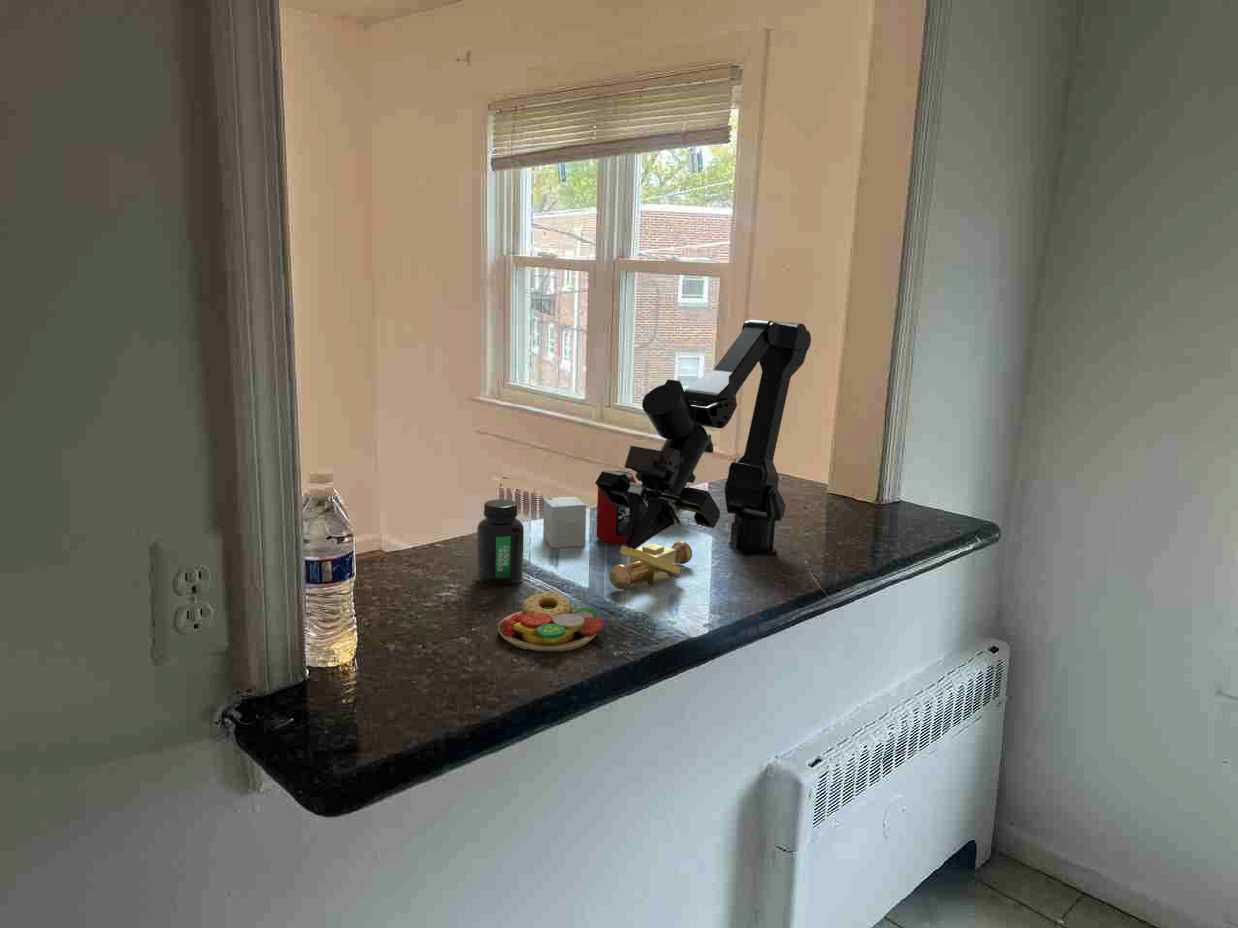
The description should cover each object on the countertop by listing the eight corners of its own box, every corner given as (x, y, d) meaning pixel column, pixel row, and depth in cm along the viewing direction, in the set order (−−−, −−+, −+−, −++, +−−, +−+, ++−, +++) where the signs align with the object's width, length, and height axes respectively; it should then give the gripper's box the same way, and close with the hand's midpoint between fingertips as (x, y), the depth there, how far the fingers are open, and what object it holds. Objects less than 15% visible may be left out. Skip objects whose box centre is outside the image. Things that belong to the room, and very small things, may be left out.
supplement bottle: (511, 590, 131) (512, 511, 128) (469, 584, 133) (469, 506, 130) (529, 576, 137) (531, 500, 134) (488, 570, 139) (489, 495, 136)
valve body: (672, 561, 147) (674, 531, 146) (699, 568, 144) (701, 538, 143) (603, 588, 133) (604, 556, 132) (632, 597, 130) (633, 564, 129)
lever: (672, 562, 137) (623, 541, 126) (688, 567, 136) (640, 546, 125) (668, 576, 137) (618, 556, 126) (684, 581, 135) (635, 561, 124)
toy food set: (544, 608, 125) (545, 586, 125) (622, 633, 118) (623, 609, 117) (477, 637, 114) (477, 613, 114) (557, 666, 107) (558, 641, 106)
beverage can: (630, 548, 153) (633, 480, 150) (592, 544, 154) (594, 476, 151) (637, 537, 159) (640, 471, 157) (600, 534, 160) (603, 468, 158)
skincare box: (585, 546, 153) (587, 504, 151) (551, 549, 151) (552, 506, 149) (575, 536, 159) (576, 495, 157) (542, 538, 156) (542, 497, 155)
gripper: (605, 415, 131) (553, 502, 125) (714, 433, 120) (662, 529, 114) (635, 460, 139) (587, 544, 133) (740, 481, 128) (693, 573, 122)
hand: (629, 547), depth 125 cm, fingers closed, pressing on lever
